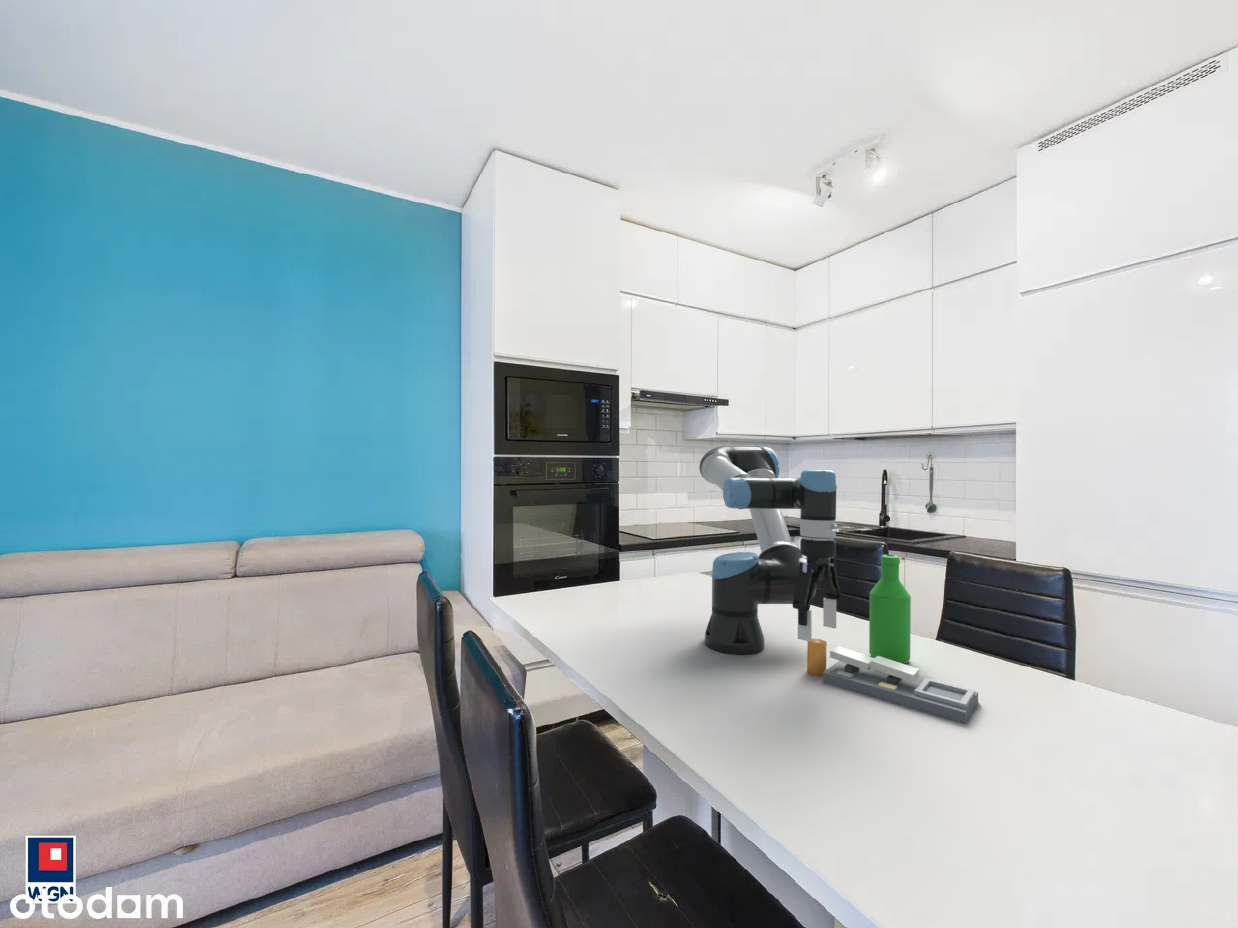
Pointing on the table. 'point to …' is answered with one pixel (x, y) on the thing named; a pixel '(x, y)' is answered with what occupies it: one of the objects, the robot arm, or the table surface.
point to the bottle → (890, 614)
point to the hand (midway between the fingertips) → (817, 633)
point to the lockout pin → (816, 657)
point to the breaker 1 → (851, 657)
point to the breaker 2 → (894, 668)
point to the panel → (906, 691)
